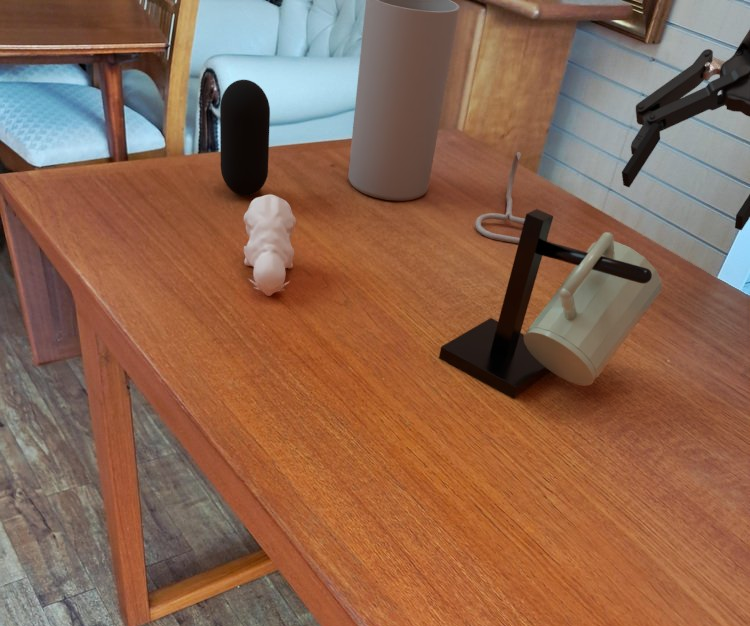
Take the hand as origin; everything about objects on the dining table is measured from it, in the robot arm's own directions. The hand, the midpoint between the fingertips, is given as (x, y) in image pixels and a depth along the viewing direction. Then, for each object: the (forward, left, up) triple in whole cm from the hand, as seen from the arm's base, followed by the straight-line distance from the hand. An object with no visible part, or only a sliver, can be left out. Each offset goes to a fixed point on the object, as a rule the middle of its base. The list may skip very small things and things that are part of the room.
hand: (680, 201), depth 87 cm
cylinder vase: (+47, +8, -16) cm, 50 cm away
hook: (+33, -5, -16) cm, 37 cm away
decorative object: (+49, +31, -16) cm, 60 cm away
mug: (-8, +21, -10) cm, 25 cm away
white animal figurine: (+25, +38, -16) cm, 48 cm away
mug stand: (-4, +20, -16) cm, 26 cm away
